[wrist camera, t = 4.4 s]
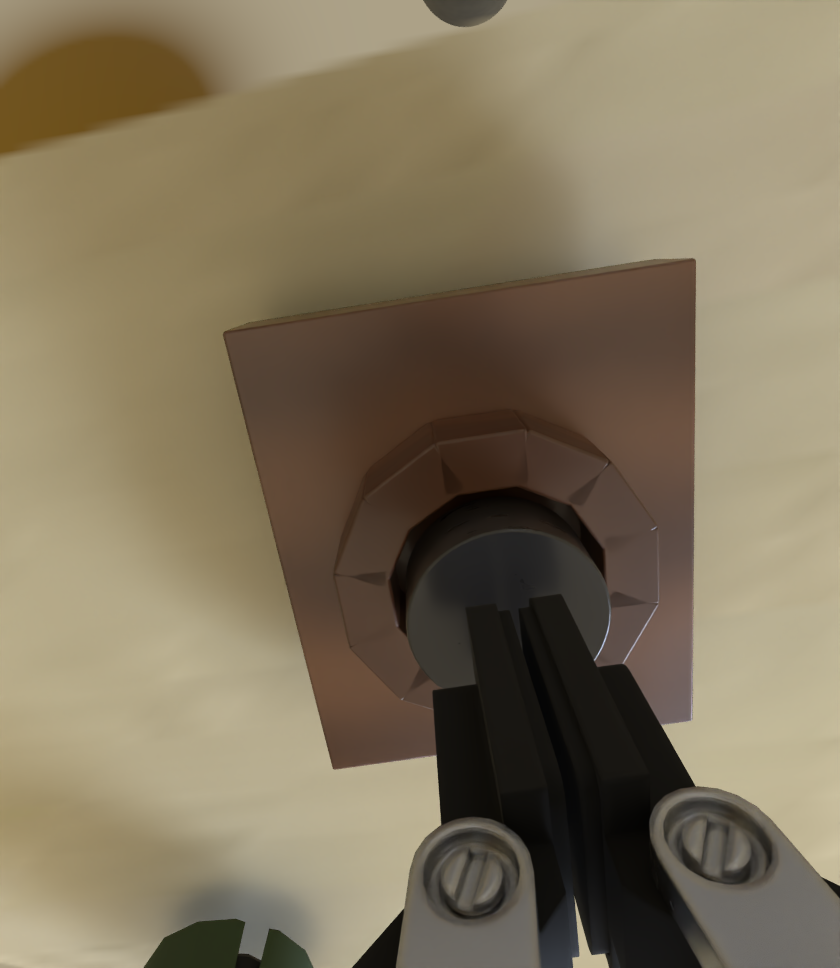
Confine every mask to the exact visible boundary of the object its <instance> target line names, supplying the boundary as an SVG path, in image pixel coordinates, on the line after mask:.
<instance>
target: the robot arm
mask: <svg viewBox="0 0 840 968" xmlns="http://www.w3.org/2000/svg"><path fill="white" fill-rule="evenodd" d="M465 611H466V618H467V625H468V632H469V640H470V647H471V654H472V661H473V668H474V675H475V682H476V684H473V685H466V686H459V687H452V688H445V689H438V690H433V692H432V695H433V711H434V725H435V740H436V754H437V768H438V783H439V797H440V812H441V826H439V827H438V828H437V829H435V830H434V831H433V832H432V833H430V834H429V835H428V836H427V837H426V838H425V839H424V840H423V842H422V843H421V845H420V846H419V848H418V849H417V851H416V852H415V855H414V858H413V862H412V865H411V868H410V873H409V880H408V887H407V894H406V901H405V908H404V909H403V910H402V911H401V913H400V914H399V915H398V916H397V917H396V918H395V919H394V921H393V922H392V923H391V924H390V925H389V926H388V927H387V928H386V930H385V931H384V932H383V933H382V934H381V935H380V936H379V938H378V939H377V940H376V941H375V942H374V943H373V944H372V946H371V947H370V948H369V949H368V950H367V951H366V952H365V954H364V955H363V956H362V957H361V958H360V959H359V960H358V962H357V963H356V964H355V965H354V966H353V967H352V968H573V962H572V958H573V957H579V945H578V933H577V922H576V911H575V900H576V903H577V907H578V911H579V914H580V918H581V922H582V925H583V929H584V933H585V936H586V940H587V943H588V947H589V950H590V952H591V954H592V955H596V954H604V953H605V955H606V958H607V961H608V965H609V968H840V886H839V885H837V884H835V883H833V882H830V881H828V880H826V879H824V878H822V877H821V876H820V875H819V874H818V873H817V872H816V871H815V869H814V868H813V867H812V866H811V865H810V864H809V862H808V861H807V860H806V859H805V858H804V857H803V856H802V854H801V853H800V852H799V851H798V850H797V849H796V847H795V846H794V845H793V844H792V843H791V842H790V841H789V839H788V838H787V837H786V836H785V835H784V834H783V832H782V831H781V830H780V829H779V828H778V827H777V826H776V824H775V823H774V822H773V821H772V820H771V819H770V818H769V817H768V816H767V815H765V814H764V813H763V812H762V811H761V810H760V809H759V808H758V807H757V806H755V805H753V804H752V803H750V802H748V801H746V800H745V799H743V798H741V797H740V796H738V795H735V794H732V793H729V792H726V791H723V790H720V789H716V788H708V787H699V786H697V787H696V786H695V785H694V783H693V781H692V779H691V778H690V776H689V774H688V772H687V770H686V769H685V767H684V765H683V763H682V762H681V760H680V758H679V756H678V755H677V753H676V751H675V749H674V747H673V746H672V744H671V742H670V740H669V739H668V737H667V735H666V733H665V732H664V730H663V728H662V726H661V725H660V723H659V721H658V719H657V717H656V716H655V714H654V712H653V710H652V709H651V707H650V705H649V703H648V702H647V700H646V698H645V696H644V694H643V693H642V691H641V689H640V687H639V686H638V684H637V682H636V680H635V679H634V677H633V675H632V673H631V672H630V670H629V669H628V667H627V666H626V665H624V664H616V665H608V666H601V667H597V665H596V663H595V661H594V659H593V657H592V655H591V653H590V651H589V649H588V647H587V645H586V643H585V641H584V639H583V637H582V635H581V633H580V631H579V629H578V626H577V624H576V622H575V620H574V618H573V616H572V614H571V612H570V610H569V608H568V606H567V604H566V602H565V600H564V598H563V596H562V595H561V594H555V595H548V596H541V597H534V598H529V607H524V608H519V622H520V632H521V641H522V648H521V644H520V641H519V638H518V635H517V632H516V629H515V625H514V622H513V619H512V616H511V613H510V610H503V611H498V608H497V605H496V603H493V604H486V605H479V606H472V607H465ZM522 650H523V651H522ZM574 896H575V899H574Z"/></svg>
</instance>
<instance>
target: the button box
mask: <svg viewBox="0 0 840 968" xmlns="http://www.w3.org/2000/svg"><path fill="white" fill-rule="evenodd" d="M695 302H696V261H695V259H693V258H691V259H653V260H646V261H640V262H633V263H627V264H621V265H614V266H608V267H601V268H595V269H589V270H582V271H576V272H569V273H563V274H557V275H550V276H544V277H537V278H531V279H524V280H518V281H512V282H505V283H499V284H492V285H486V286H480V287H473V288H467V289H460V290H454V291H448V292H441V293H435V294H428V295H422V296H416V297H409V298H403V299H396V300H390V301H384V302H377V303H371V304H364V305H358V306H351V307H345V308H339V309H332V310H326V311H319V312H313V313H307V314H300V315H294V316H287V317H281V318H275V319H268V320H262V321H255V322H249V323H246V324H244V325H241V326H238V327H235V328H233V329H230V330H227V331H225V332H224V333H223V337H224V341H225V345H226V348H227V352H228V356H229V360H230V364H231V368H232V372H233V376H234V380H235V384H236V388H237V392H238V396H239V400H240V404H241V408H242V412H243V416H244V420H245V424H246V427H247V431H248V435H249V439H250V443H251V447H252V451H253V455H254V459H255V463H256V467H257V471H258V475H259V479H260V483H261V487H262V491H263V495H264V499H265V502H266V506H267V510H268V514H269V518H270V522H271V526H272V530H273V534H274V538H275V542H276V546H277V550H278V554H279V558H280V562H281V566H282V570H283V574H284V578H285V581H286V585H287V589H288V593H289V597H290V601H291V605H292V609H293V613H294V617H295V621H296V625H297V629H298V633H299V637H300V641H301V645H302V649H303V653H304V656H305V660H306V664H307V668H308V672H309V676H310V680H311V684H312V688H313V692H314V696H315V700H316V704H317V708H318V712H319V716H320V720H321V724H322V728H323V732H324V735H325V739H326V743H327V747H328V751H329V755H330V759H331V763H332V767H333V769H342V768H349V767H357V766H364V765H371V764H379V763H386V762H393V761H401V760H408V759H415V758H423V757H430V756H437V754H436V740H435V725H434V711H433V695H432V692H433V690H438V689H442V688H440V687H439V686H437V685H436V684H435V683H434V682H433V681H432V680H431V679H430V678H429V677H428V676H427V675H426V674H425V673H424V671H423V670H422V669H421V668H420V666H419V665H418V663H417V661H416V660H415V658H414V656H413V653H412V651H411V649H410V646H409V642H408V638H407V631H406V571H407V566H408V562H409V559H410V556H411V553H412V551H413V549H414V547H415V545H416V543H417V541H418V540H419V538H420V537H421V536H422V534H423V533H424V532H425V531H426V529H427V528H428V527H429V526H430V525H431V524H432V523H433V522H435V521H436V520H437V519H438V518H439V517H440V516H442V515H443V514H445V513H447V512H448V511H450V510H451V509H453V508H455V507H457V506H459V505H462V504H464V503H467V502H470V501H473V500H477V499H482V498H486V497H497V496H504V497H516V498H522V499H526V500H530V501H533V502H536V503H538V504H541V505H543V506H545V507H547V508H549V509H550V510H552V511H554V512H555V513H557V514H558V515H559V516H560V517H561V518H563V519H564V520H565V521H566V522H567V523H568V524H569V525H570V527H571V528H572V529H573V530H574V532H575V533H576V535H577V536H578V538H579V539H580V541H581V543H582V544H583V546H584V547H585V549H586V550H587V552H588V553H589V555H590V557H591V558H592V560H593V561H594V563H595V564H596V566H597V567H598V569H599V571H600V572H601V574H602V576H603V578H604V580H605V582H606V584H607V588H608V591H609V595H610V602H611V621H610V627H609V632H608V635H607V638H606V641H605V644H604V646H603V648H602V650H601V652H600V654H599V655H598V657H597V658H596V660H595V663H596V665H597V667H601V666H608V665H616V664H624V665H626V666H627V667H628V669H629V670H630V672H631V673H632V675H633V677H634V679H635V680H636V682H637V684H638V686H639V687H640V689H641V691H642V693H643V694H644V696H645V698H646V700H647V702H648V703H649V705H650V707H651V709H652V710H653V712H654V714H655V716H656V717H657V719H658V721H659V723H660V725H665V724H672V723H679V722H687V721H691V720H692V706H693V571H694V437H695Z"/></svg>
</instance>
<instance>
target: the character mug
mask: <svg viewBox="0 0 840 968" xmlns="http://www.w3.org/2000/svg"><path fill="white" fill-rule="evenodd" d="M244 925H245V922H243V921H240V920H237V919H228V920H215V921H202V922H197V923H194V924H192V925H190V926H188V927H186V928H184V929H182V930H180V931H178V932H175V933H173V934H171V935H169V936H167V937H165V938H164V939H163V941H162V942H161V943H160V945H159V946H158V948H157V949H156V951H155V952H154V953H153V955H152V956H151V958H150V959H149V961H148V962H147V963H146V965H145V966H144V968H313V966H312V964H311V962H310V959H309V957H308V955H307V953H306V951H305V950H304V949H303V948H301V947H300V946H299V945H297V944H296V943H295V942H294V941H292V940H291V939H290V938H288V937H287V936H286V935H284V934H283V933H282V932H280V931H278V930H273V929H269V933H268V937H267V941H266V944H265V948H264V952H263V956H262V960H259V959H257V958H255V957H253V956H251V955H249V954H238V952H239V947H240V943H241V939H242V934H243V930H244Z"/></svg>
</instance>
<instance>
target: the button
mask: <svg viewBox="0 0 840 968" xmlns="http://www.w3.org/2000/svg"><path fill="white" fill-rule="evenodd" d="M555 594H561V595H562V596H563V598H564V600H565V602H566V604H567V606H568V608H569V610H570V612H571V614H572V616H573V618H574V620H575V622H576V624H577V626H578V629H579V631H580V633H581V635H582V637H583V639H584V641H585V643H586V645H587V647H588V649H589V651H590V653H591V655H592V657H593V659H594V661H595V660H596V658H597V657H598V655H599V654H600V652H601V650H602V648H603V646H604V644H605V641H606V638H607V635H608V632H609V627H610V621H611V602H610V595H609V591H608V588H607V584H606V582H605V580H604V578H603V576H602V574H601V572H600V571H599V569H598V567H597V566H596V564H595V563H594V561H593V560H592V558H591V557H590V555H589V553H588V552H587V550H586V549H585V547H584V546H583V544H582V543H581V541H580V539H579V538H578V536H577V535H576V533H575V532H574V530H573V529H572V528H571V527H570V525H569V524H568V523H567V522H566V521H565V520H564V519H563V518H561V517H560V516H559V515H558V514H557V513H555V512H554V511H552V510H550V509H549V508H547V507H545V506H543V505H541V504H538V503H536V502H533V501H530V500H526V499H522V498H516V497H504V496H497V497H486V498H482V499H477V500H473V501H470V502H467V503H464V504H462V505H459V506H457V507H455V508H453V509H451V510H450V511H448V512H447V513H445V514H443V515H442V516H440V517H439V518H438V519H437V520H436V521H435V522H433V523H432V524H431V525H430V526H429V527H428V528H427V529H426V531H425V532H424V533H423V534H422V536H421V537H420V538H419V540H418V541H417V543H416V545H415V547H414V549H413V551H412V553H411V556H410V559H409V562H408V566H407V571H406V631H407V638H408V642H409V646H410V649H411V651H412V653H413V656H414V658H415V660H416V661H417V663H418V665H419V666H420V668H421V669H422V670H423V671H424V673H425V674H426V675H427V676H428V677H429V678H430V679H431V680H432V681H433V682H434V683H435V684H436V685H437V686H439V687H440V688H442V689H445V688H452V687H459V686H466V685H473V684H476V682H475V675H474V668H473V661H472V654H471V647H470V640H469V632H468V625H467V618H466V611H465V607H472V606H479V605H486V604H493V603H496V605H497V608H498V611H503V610H510V613H511V616H512V619H513V622H514V625H515V629H516V632H517V635H518V638H519V641H520V644H521V648H522V641H521V632H520V622H519V608H524V607H529V598H534V597H541V596H548V595H555ZM522 651H523V650H522Z"/></svg>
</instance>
